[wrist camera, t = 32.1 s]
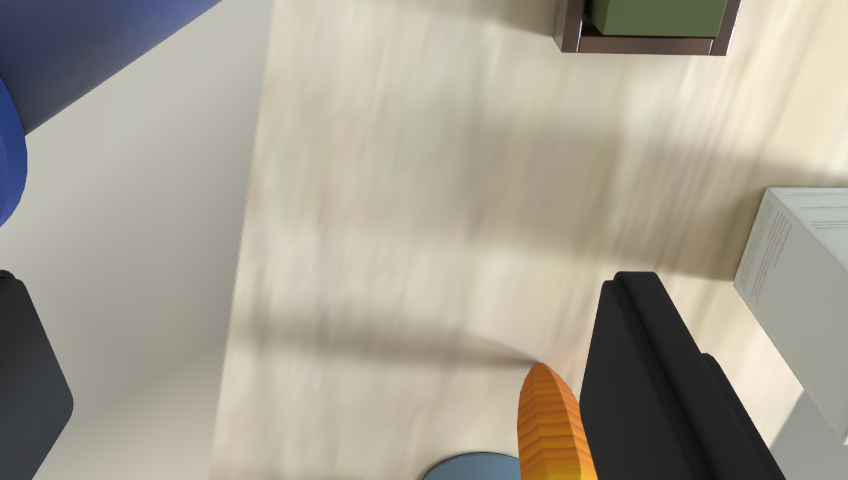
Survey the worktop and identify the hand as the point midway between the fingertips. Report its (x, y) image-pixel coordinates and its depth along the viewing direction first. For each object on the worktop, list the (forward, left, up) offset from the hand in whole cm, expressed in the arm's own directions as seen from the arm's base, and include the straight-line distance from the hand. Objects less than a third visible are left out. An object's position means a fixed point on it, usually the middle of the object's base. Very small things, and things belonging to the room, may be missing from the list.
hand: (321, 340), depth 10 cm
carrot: (+10, -24, -25) cm, 35 cm away
